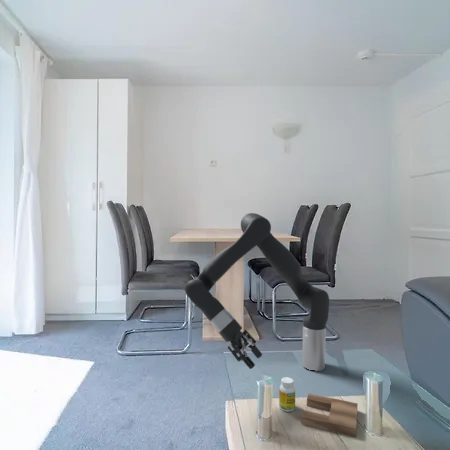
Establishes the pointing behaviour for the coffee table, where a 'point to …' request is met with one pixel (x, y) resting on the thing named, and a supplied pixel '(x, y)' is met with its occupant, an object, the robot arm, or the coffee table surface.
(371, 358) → the coffee table surface
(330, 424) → the notched board
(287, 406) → the supplement bottle
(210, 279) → the robot arm
